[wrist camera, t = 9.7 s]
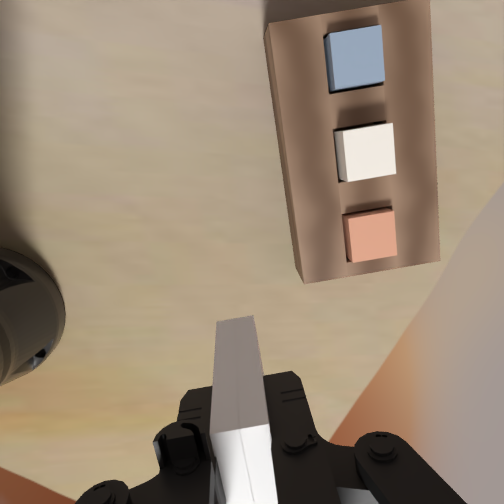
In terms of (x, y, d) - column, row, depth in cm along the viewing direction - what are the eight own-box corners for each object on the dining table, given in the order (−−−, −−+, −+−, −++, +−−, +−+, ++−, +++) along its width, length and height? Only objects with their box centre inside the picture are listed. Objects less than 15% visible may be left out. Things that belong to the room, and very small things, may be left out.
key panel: (295, 267, 47) (304, 284, 42) (263, 38, 41) (268, 23, 35) (416, 247, 47) (440, 260, 42) (403, 14, 41) (429, -4, 35)
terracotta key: (344, 254, 43) (352, 262, 40) (340, 213, 42) (348, 218, 39) (385, 247, 43) (397, 255, 40) (382, 206, 42) (394, 210, 39)
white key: (339, 178, 40) (347, 182, 37) (334, 131, 39) (342, 131, 36) (384, 171, 40) (396, 173, 37) (380, 124, 39) (392, 122, 36)
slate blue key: (327, 92, 39) (335, 88, 36) (321, 41, 37) (329, 33, 35) (373, 84, 39) (385, 80, 36) (369, 33, 38) (381, 24, 35)
